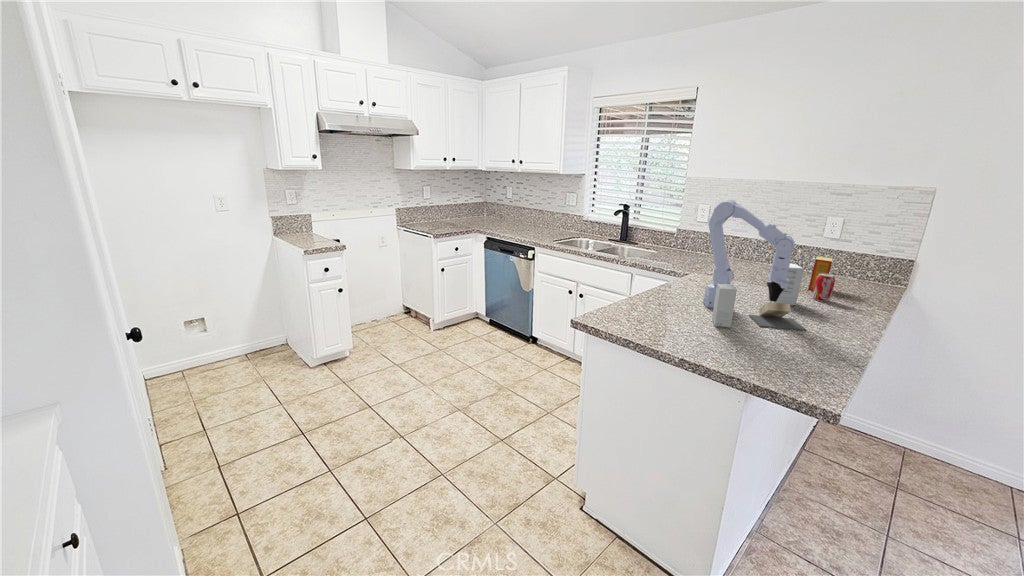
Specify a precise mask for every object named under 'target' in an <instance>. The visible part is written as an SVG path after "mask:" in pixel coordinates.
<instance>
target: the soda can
mask: <svg viewBox="0 0 1024 576" xmlns="http://www.w3.org/2000/svg"><path fill="white" fill-rule="evenodd" d="M835 284H836V279H835V275H834V274H832V273H829V274H826V273H820V274H819V275H818V276H817V278H816V282H815V285H814V289H813V291H812V296H811V298H812V299H813V300H814V299H815V300H814V301H817V300H818V301H817V302H821V301H823V302H822V303H826V302H829V301H831V298H832V294H833V291H834V288H835Z"/></svg>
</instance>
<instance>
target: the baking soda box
mask: <svg viewBox="0 0 1024 576" xmlns="http://www.w3.org/2000/svg"><path fill="white" fill-rule="evenodd" d="M832 263H833V258H832V257H828V256H827V257H826V256H818V255H816V258H815V261H814V264H813V268H812V272H811V276H810V280H809V284H808V289H807V290H808V291H810V290H812V292H813V289H814V285H815V282H816V278H817V276H818V275H819V274H820V273H826V274H830V271H831V267H832Z"/></svg>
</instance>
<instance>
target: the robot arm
mask: <svg viewBox="0 0 1024 576" xmlns="http://www.w3.org/2000/svg"><path fill="white" fill-rule="evenodd" d="M729 218H734V219H742V220H743V221H745V222H746V223H747V224H748V225H751V227H753V228H755V229H756V230H757V231H758V236H760V237H761V238H763V240H765V241H766V242H767V243H769V244H770V245H772V246H774V249H775V254H774V255H773V258H772V259H773V260H772V264H771V269H770V271H769V272H770V273H767V276H766V279H768V280H769V281H767V282H766V285H767V290H768V289H769V300H768V301H769V302H771V301H774V302H776V301H777V299H778V297H779V296H780V294H781V292H782V291H783V290H784V289H787V288H788V283H787V282H789V279H787V274H788V270H789V266H790V264H791V260H792V255H793V250H794V247H795V245H796V243H795V240H794V238H793V237H792V236H790V235H788V233H786V232H785V233H784V232H783V231H782V230H780V229H779V228H777V224H773V223H765V222H763V221H762V220H760V219H759V218H758V217H757V216H755V215H754V214H753V213H752V212H751V211H750V210H748V209H747V208H746V207H744V206H743V205H741V204H739V203H737V202H736V201H735V200H732V199H729V200H726V201H721V202H719V204H717V206H715V207H714V209H713V213H712V214H711V217H710V218H709V220H708V228H709V229H708V230H709V234H710V235H709V236H710V242H711V247H712V249H711V250H712V254H713V261H714V267H713V273H714V274H713V277H712V284H706V286H705V291H704V294H703V299H702V302H703V304H704V305H705V306H706V308H712V309H714V303H715V296H716V289H717V284H731V282H733V280H734V278H735V274H734V272H733V270H732V269H731V265H730V263H729V260H728V254H727V247H726V240H725V235H724V233H725V232H724V227H723V225H724V224H725V222H726V221H728V219H729ZM770 281H772V282H770Z"/></svg>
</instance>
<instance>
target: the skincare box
mask: <svg viewBox="0 0 1024 576" xmlns="http://www.w3.org/2000/svg"><path fill="white" fill-rule="evenodd" d="M737 291H738V289H737V288H736V287H735V286H734V284H731V283H730V284H717V289H716V296H715V303H714V308H712V309H713V310H712V317H711V320H712V323H713V325H714V326H715V327H721V328H729V329H731V327H732V323H733V316H734V310H735V309H734V308H735V303H736V295H737Z"/></svg>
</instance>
